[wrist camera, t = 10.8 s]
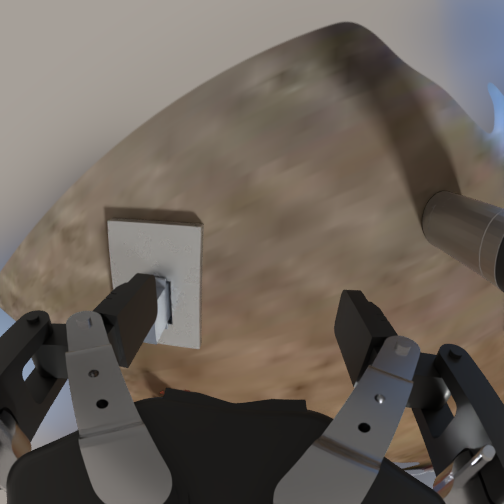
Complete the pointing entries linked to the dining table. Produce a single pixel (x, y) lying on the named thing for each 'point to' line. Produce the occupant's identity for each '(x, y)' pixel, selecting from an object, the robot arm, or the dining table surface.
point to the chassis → (163, 268)
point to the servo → (160, 311)
